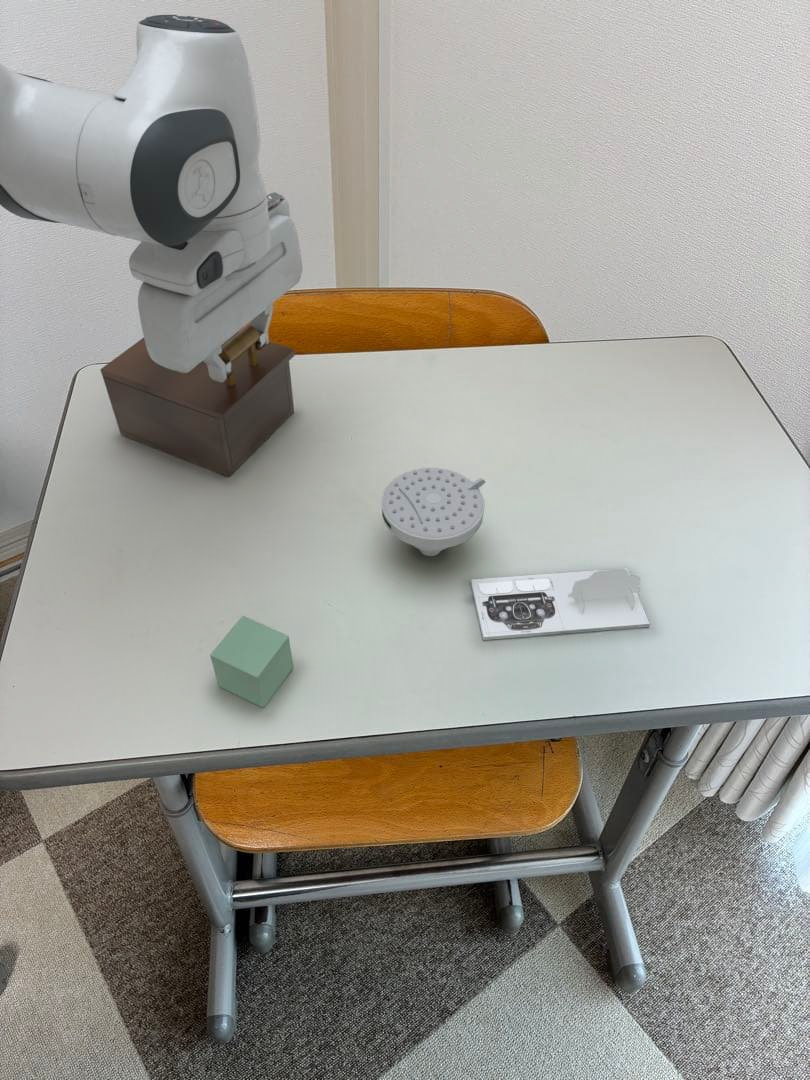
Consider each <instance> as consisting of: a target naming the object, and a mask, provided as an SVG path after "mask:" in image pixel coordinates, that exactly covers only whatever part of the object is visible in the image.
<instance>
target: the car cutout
mask: <svg viewBox="0 0 810 1080" xmlns="http://www.w3.org/2000/svg"><path fill="white" fill-rule="evenodd" d="M640 584H641V577H639V576H638V575H636V574H635V575H631V574H630V571H629V568H628V567H620V568H606V569H604V568H603V569H591V570H578V571H566V572H554V573H551V572H550V573H539V574H526V575H525V574H524V575H523V574H522V575H511V576H497V577H483V578H471V579H470V588H471V592H472V597H473V601H474V606H475V610H476V613H477V619H478V623H479V628H480V632H481V633H480V634H481V638H482V641H491V640H503V639H517V638H525V637H526V638H529V637H541V636H554V635H565V634H566V635H567V634H577V633H578V634H579V633H591V632H603V631H615V630H617V631H618V630H627V629H641V628H649V627H650V625H651V623H650V621H649V619H648V616H647V614H646V611H645V609H644V606H643V604H642V601H641V598H640V595H639V593H640V590H641V588H639V586H640Z"/></svg>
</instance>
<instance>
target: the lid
mask: <svg viewBox="0 0 810 1080" xmlns="http://www.w3.org/2000/svg"><path fill="white" fill-rule="evenodd" d="M259 338H260V335H259V332H258V331H257V329H256V328H255V327H253V326H250V324H249V325H248V324H247V325H246V326H245V327H243V328H242V329H241V330H240V331H238V332H237V333H236V334H235V335H234V336H232V337H231V338H230V339H229V340H227V341H226V342H225V343H224V344H223V345H221V348H222V353H220V354H218V356H219V357H220V358H222V359H225V360H228V361H231V366H232V367H231V370H232V375H231V376H230V377H228V378H227V379H226V380H225V381H224V382H223V383H221V382H218V381H215V380H213V379H211V378H210V376H209V372H208V367H207V364H206V363H205V362H204V361H202V362H200V363H199V364H198V365H197V366H196V367H194V368H193V369H192V370H191V371H190V372H188V373H180V372H177V371H174V370H170V369H168V368H165V367H163V366H161V365H159V364H157V363H156V362H154V361H153V360H152V359H151V357H150V356H149V353H148V350H147V347H146V343H145V339H144V337H142V338H140V340H137V342H136V343H134V344H133V345H131V346H130V347H129V348H127V349H125V350H124V351H123V352H122V353H120V354H119V355H118V356H116V357H115V358H114V359H112V360H111V361H110V362H108V363H107V364H105V365H104V366H103V367H101V368H100V369H99V370H100V374H101V377H103V376H104V377H107V378H110V379H113V380H115V381H118V382H121V383H123V384H126V385H129V386H132V387H134V388H137V389H140V390H143V391H145V392H148V393H151V394H153V395H156V396H159V397H162V398H164V399H167V400H170V401H172V402H175V403H178V404H181V405H183V406H186V407H189V408H192V409H194V410H197V411H200V412H202V413H205V414H208V415H211V416H213V417H216V418H219V419H221V420H225V419H227V418H228V417H229V416H230V415H231V414H232V413H233V412H234V411H235V410H236V409H237V408H238V407H240V406H241V405H242V404H243V403H244V402H245V401H246V400H247V399H248V398H249V397H250V396H252V395H253V394H254V393H255V392H256V391H257V390H258V389H259V388H260V387H261V386H262V385H263V384H265V383H266V382H267V381H268V380H269V379H270V378H271V377H272V376H273V375H274V374H275V373H276V372H278V371H279V370H280V369H281V368H282V367H283V366H284V365H285V364H286V363H287V362H288V361H289V362H290V361H291V360H292V359H293V358H294V357H295V350H294V349H293V348H290V347H287V346H284V345H281V344H279V343H275V342H271V341H269V343H268V344H267V345H266V346H264V347H263V348H262V349H261V350H256V345H255V343H256V342H257V341H258V340H259Z"/></svg>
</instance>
